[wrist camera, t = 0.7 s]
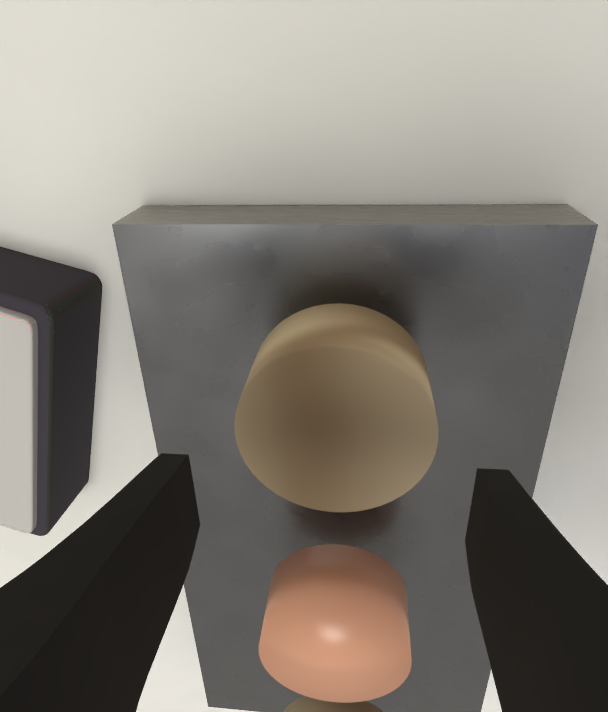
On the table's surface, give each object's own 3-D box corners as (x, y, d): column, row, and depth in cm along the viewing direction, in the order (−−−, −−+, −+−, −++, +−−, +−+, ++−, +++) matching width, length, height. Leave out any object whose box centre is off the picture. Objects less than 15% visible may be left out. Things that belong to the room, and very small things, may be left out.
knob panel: (567, 204, 17) (597, 224, 14) (467, 682, 29) (475, 732, 27) (142, 205, 18) (112, 224, 16) (219, 660, 30) (208, 706, 28)
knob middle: (411, 549, 18) (417, 615, 16) (402, 640, 20) (406, 709, 18) (266, 540, 18) (253, 602, 16) (274, 629, 21) (263, 695, 19)
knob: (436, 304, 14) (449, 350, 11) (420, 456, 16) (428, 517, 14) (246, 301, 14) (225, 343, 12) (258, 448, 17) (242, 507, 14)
